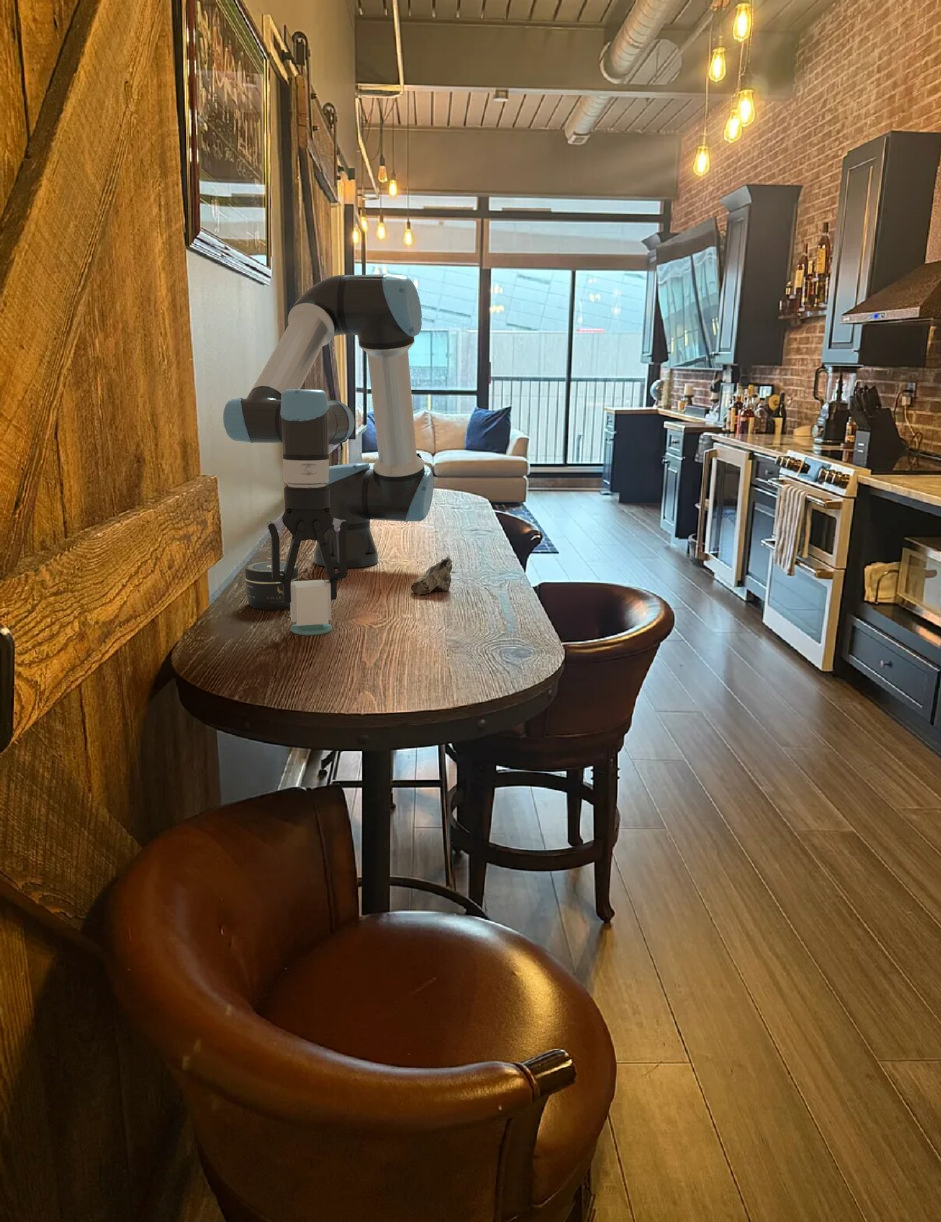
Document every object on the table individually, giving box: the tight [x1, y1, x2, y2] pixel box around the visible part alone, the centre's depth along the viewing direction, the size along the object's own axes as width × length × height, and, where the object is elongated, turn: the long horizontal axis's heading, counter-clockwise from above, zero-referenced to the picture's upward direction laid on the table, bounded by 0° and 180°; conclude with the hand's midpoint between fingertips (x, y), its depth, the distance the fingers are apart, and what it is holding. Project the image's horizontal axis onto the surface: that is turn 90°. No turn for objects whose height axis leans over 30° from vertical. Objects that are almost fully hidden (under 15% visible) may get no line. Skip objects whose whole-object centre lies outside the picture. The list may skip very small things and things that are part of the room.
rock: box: [410, 555, 453, 596], centre depth 176 cm, size 9×7×10 cm
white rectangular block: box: [293, 579, 329, 626], centre depth 148 cm, size 5×5×7 cm
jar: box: [244, 560, 299, 611], centre depth 164 cm, size 10×10×8 cm
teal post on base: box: [290, 622, 333, 636], centre depth 148 cm, size 7×7×7 cm
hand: (310, 618), depth 148 cm, fingers closed on white rectangular block, 5 cm apart
